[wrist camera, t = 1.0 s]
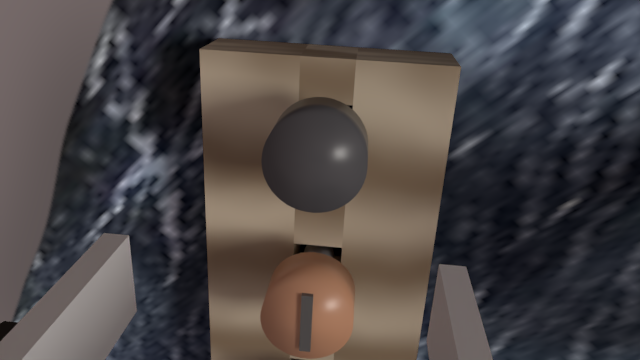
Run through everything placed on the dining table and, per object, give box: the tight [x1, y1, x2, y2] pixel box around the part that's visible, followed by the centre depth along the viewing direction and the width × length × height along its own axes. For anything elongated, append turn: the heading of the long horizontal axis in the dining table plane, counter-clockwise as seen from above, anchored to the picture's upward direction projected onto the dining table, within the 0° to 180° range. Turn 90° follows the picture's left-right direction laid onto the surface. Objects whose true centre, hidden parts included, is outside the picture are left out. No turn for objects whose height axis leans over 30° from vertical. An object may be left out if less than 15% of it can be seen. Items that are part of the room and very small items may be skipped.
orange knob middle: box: [260, 245, 355, 359], centre depth 32 cm, size 5×5×7 cm
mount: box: [199, 38, 461, 360], centre depth 36 cm, size 26×14×4 cm, turn 177°
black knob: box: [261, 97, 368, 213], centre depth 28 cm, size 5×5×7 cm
